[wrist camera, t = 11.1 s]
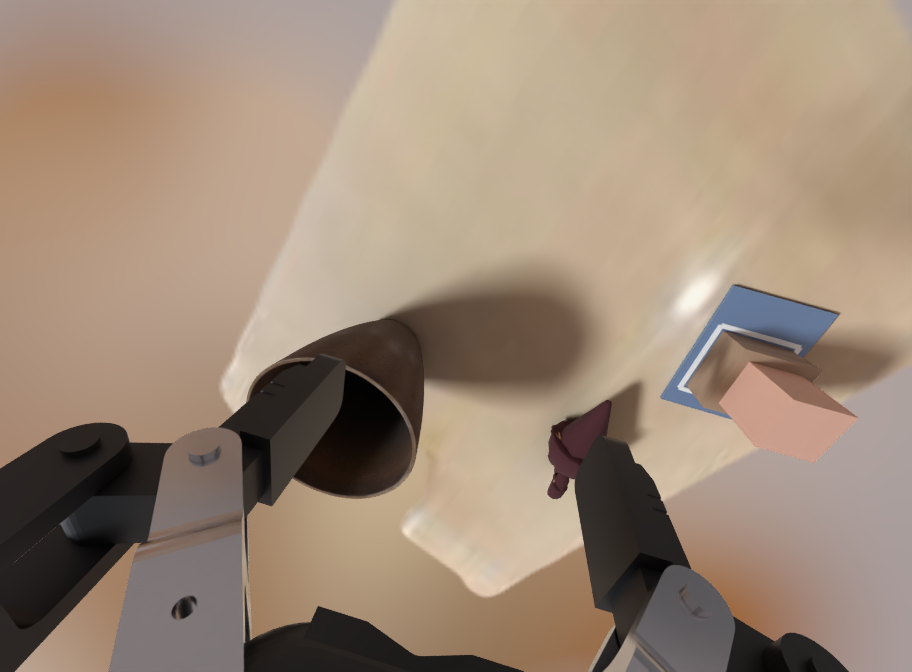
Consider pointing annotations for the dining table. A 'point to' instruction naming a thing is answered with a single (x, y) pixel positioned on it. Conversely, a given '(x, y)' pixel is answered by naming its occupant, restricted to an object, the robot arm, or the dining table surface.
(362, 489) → the plant pot
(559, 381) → the dining table surface
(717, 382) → the walnut base
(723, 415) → the blueprint mat
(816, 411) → the terracotta block
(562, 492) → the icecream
